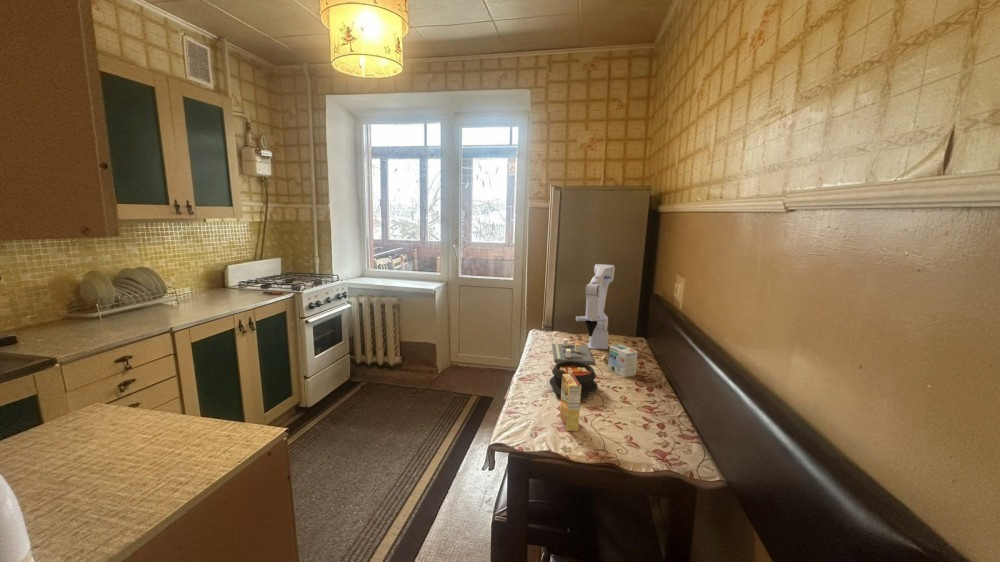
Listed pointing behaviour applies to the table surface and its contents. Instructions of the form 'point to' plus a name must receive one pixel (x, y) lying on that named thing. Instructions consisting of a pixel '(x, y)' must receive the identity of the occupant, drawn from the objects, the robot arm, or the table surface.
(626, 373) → the light bulb box
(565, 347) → the breaker panel
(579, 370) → the casserole
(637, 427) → the table surface
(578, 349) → the handle
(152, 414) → the table surface
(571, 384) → the candy box
